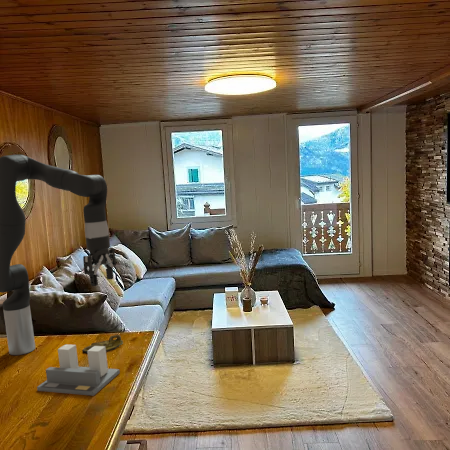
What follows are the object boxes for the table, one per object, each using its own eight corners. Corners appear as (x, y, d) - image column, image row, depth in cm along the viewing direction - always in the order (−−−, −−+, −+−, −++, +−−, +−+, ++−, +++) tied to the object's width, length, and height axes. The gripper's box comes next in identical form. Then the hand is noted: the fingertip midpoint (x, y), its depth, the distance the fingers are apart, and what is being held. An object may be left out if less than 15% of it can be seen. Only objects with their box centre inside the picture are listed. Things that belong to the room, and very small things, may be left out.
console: (67, 369, 153) (65, 354, 153) (119, 372, 147) (118, 357, 147) (37, 390, 139) (35, 374, 138) (93, 395, 133) (91, 379, 132)
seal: (85, 360, 163) (126, 350, 169) (83, 348, 162) (125, 338, 168) (80, 349, 171) (119, 339, 178) (79, 338, 170) (118, 328, 176)
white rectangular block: (68, 368, 150) (65, 344, 149) (78, 369, 149) (75, 344, 148) (60, 374, 146) (57, 349, 145) (71, 374, 145) (68, 349, 144)
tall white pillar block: (97, 370, 147) (94, 345, 145) (108, 371, 145) (105, 346, 144) (90, 376, 143) (87, 350, 142) (101, 377, 142) (98, 351, 140)
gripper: (101, 232, 159) (106, 277, 161) (73, 238, 145) (79, 287, 147) (119, 231, 156) (124, 277, 158) (92, 238, 143) (98, 288, 145)
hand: (102, 282), depth 153 cm, fingers open, 8 cm apart
